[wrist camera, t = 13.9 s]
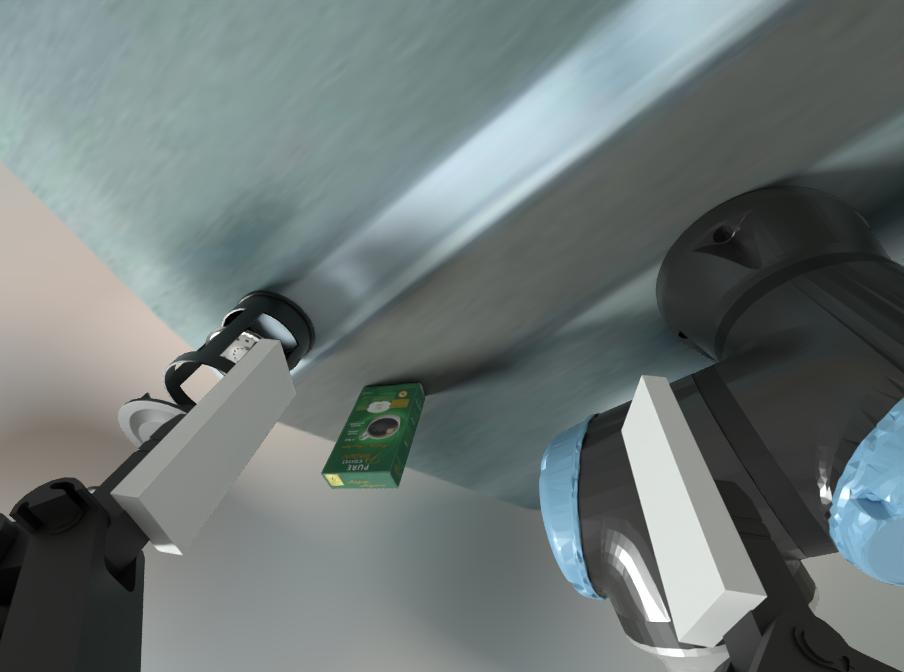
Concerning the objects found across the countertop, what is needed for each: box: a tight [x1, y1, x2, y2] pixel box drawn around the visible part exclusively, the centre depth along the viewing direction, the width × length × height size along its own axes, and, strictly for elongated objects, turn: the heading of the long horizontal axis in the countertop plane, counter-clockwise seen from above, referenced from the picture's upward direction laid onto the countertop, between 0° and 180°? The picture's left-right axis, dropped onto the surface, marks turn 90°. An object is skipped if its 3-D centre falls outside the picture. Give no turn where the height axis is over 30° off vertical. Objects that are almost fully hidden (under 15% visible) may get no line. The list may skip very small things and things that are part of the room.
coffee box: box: [321, 383, 425, 489], centre depth 44 cm, size 8×3×13 cm, turn 104°
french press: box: [87, 291, 315, 494], centre depth 36 cm, size 12×9×23 cm
